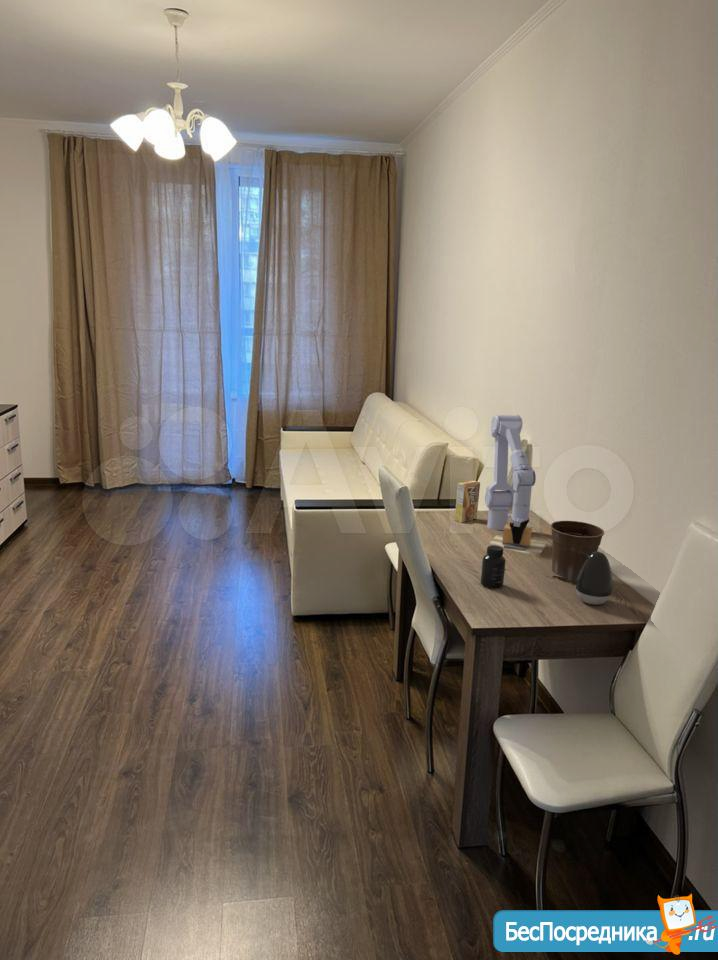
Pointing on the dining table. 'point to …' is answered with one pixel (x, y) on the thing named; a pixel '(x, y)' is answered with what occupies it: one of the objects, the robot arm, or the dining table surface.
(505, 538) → the block
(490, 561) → the supplement bottle
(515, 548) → the graphite strip
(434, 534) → the dining table surface
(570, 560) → the plant pot
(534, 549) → the board
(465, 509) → the candy box
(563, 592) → the dining table surface
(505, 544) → the graphite strip
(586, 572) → the black egg shaped device
